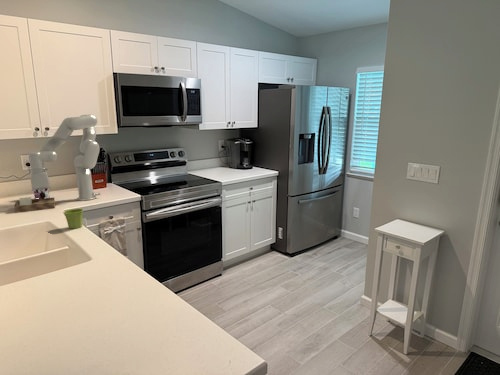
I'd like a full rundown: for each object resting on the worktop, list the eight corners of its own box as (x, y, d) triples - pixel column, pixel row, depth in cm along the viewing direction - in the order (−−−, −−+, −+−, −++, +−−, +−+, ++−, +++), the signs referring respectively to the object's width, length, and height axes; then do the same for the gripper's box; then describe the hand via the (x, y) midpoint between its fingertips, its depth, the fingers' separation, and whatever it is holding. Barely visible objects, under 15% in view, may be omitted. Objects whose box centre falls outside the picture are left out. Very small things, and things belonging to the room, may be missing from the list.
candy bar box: (50, 199, 251) (47, 176, 248) (43, 200, 247) (40, 177, 244) (41, 197, 256) (38, 176, 253) (34, 199, 252) (31, 177, 249)
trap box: (54, 203, 237) (54, 195, 236) (54, 208, 221) (53, 200, 220) (18, 207, 226) (17, 199, 226) (15, 212, 211) (14, 204, 210)
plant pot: (61, 228, 175) (59, 211, 174) (80, 223, 183) (78, 207, 181) (70, 231, 170) (68, 214, 168) (88, 226, 177) (87, 210, 175)
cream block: (31, 202, 224) (31, 196, 224) (31, 204, 220) (30, 198, 219) (20, 204, 221) (20, 198, 221) (20, 205, 217) (19, 199, 216)
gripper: (51, 169, 228) (56, 196, 232) (25, 171, 221) (30, 199, 225) (51, 170, 222) (56, 198, 225) (24, 173, 215) (29, 201, 218)
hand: (43, 198), depth 225 cm, fingers closed
